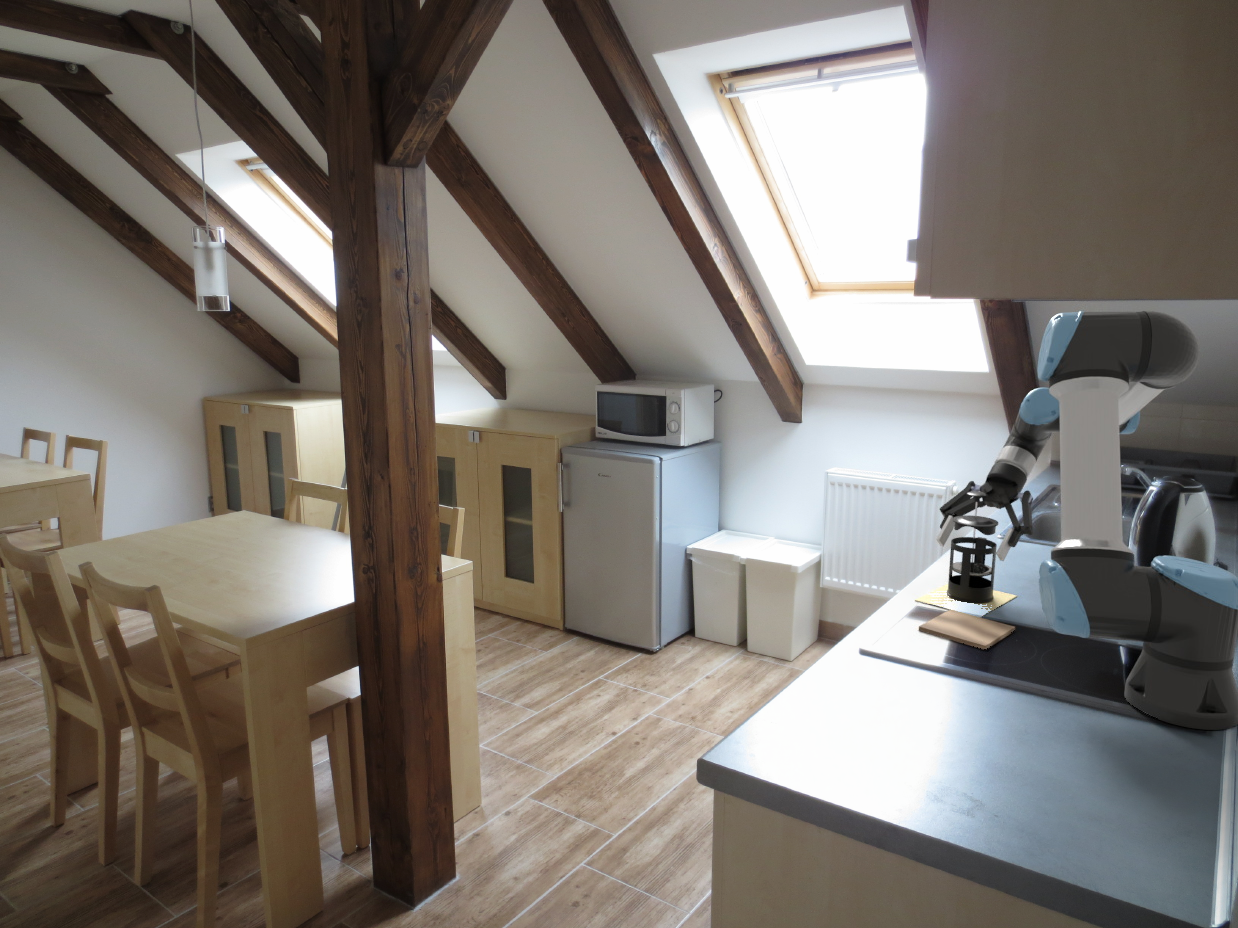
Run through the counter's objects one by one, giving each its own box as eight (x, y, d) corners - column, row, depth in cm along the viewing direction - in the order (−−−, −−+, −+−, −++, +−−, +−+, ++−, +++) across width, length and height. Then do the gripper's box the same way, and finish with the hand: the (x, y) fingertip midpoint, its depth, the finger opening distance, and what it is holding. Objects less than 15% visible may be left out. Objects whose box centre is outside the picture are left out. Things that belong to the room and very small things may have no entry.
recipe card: (979, 618, 167) (979, 617, 166) (914, 600, 177) (915, 599, 177) (1017, 596, 178) (1017, 595, 178) (954, 581, 189) (954, 580, 189)
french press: (985, 607, 171) (993, 500, 167) (939, 598, 177) (946, 494, 173) (1001, 592, 180) (1009, 490, 176) (957, 583, 186) (964, 484, 182)
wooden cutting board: (985, 649, 152) (985, 645, 151) (918, 630, 161) (918, 626, 161) (1014, 630, 160) (1015, 626, 160) (950, 612, 170) (950, 609, 169)
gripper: (1073, 491, 174) (1032, 573, 168) (963, 473, 194) (922, 546, 188) (1064, 469, 170) (1021, 553, 164) (952, 453, 189) (910, 527, 183)
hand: (968, 549), depth 176 cm, fingers open, 13 cm apart
